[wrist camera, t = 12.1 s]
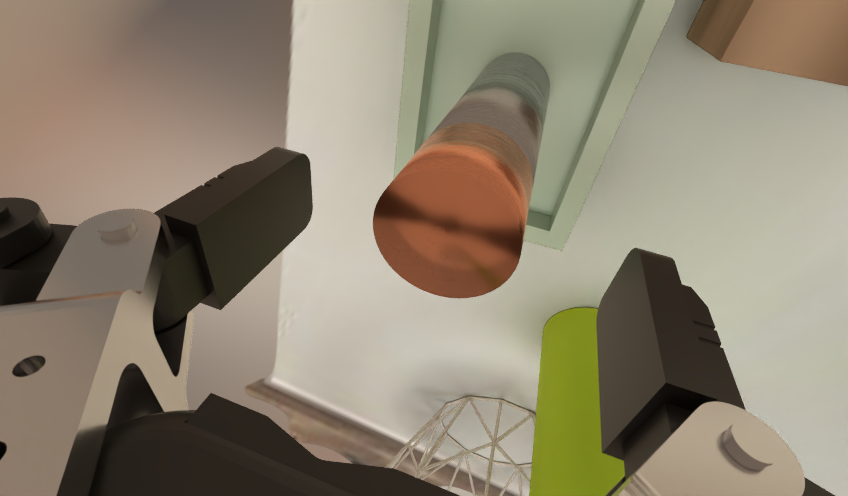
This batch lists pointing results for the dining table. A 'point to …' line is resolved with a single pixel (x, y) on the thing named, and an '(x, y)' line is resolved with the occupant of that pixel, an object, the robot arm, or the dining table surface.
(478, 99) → the grey and copper cylinder
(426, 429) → the table lamp
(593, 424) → the soap dispenser
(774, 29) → the hitch block
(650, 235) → the dining table surface
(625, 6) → the tray
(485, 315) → the dining table surface
